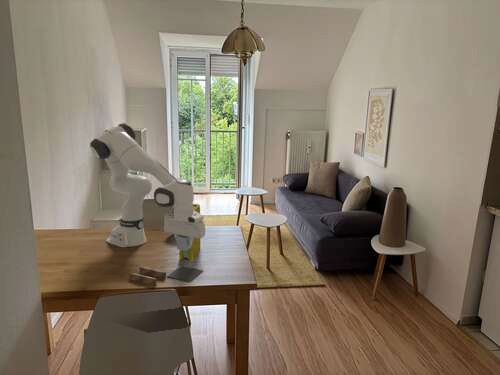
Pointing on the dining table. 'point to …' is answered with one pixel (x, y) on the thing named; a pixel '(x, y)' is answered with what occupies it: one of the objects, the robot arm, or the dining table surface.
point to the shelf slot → (145, 278)
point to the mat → (185, 273)
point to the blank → (183, 243)
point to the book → (195, 243)
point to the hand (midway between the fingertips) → (184, 244)
